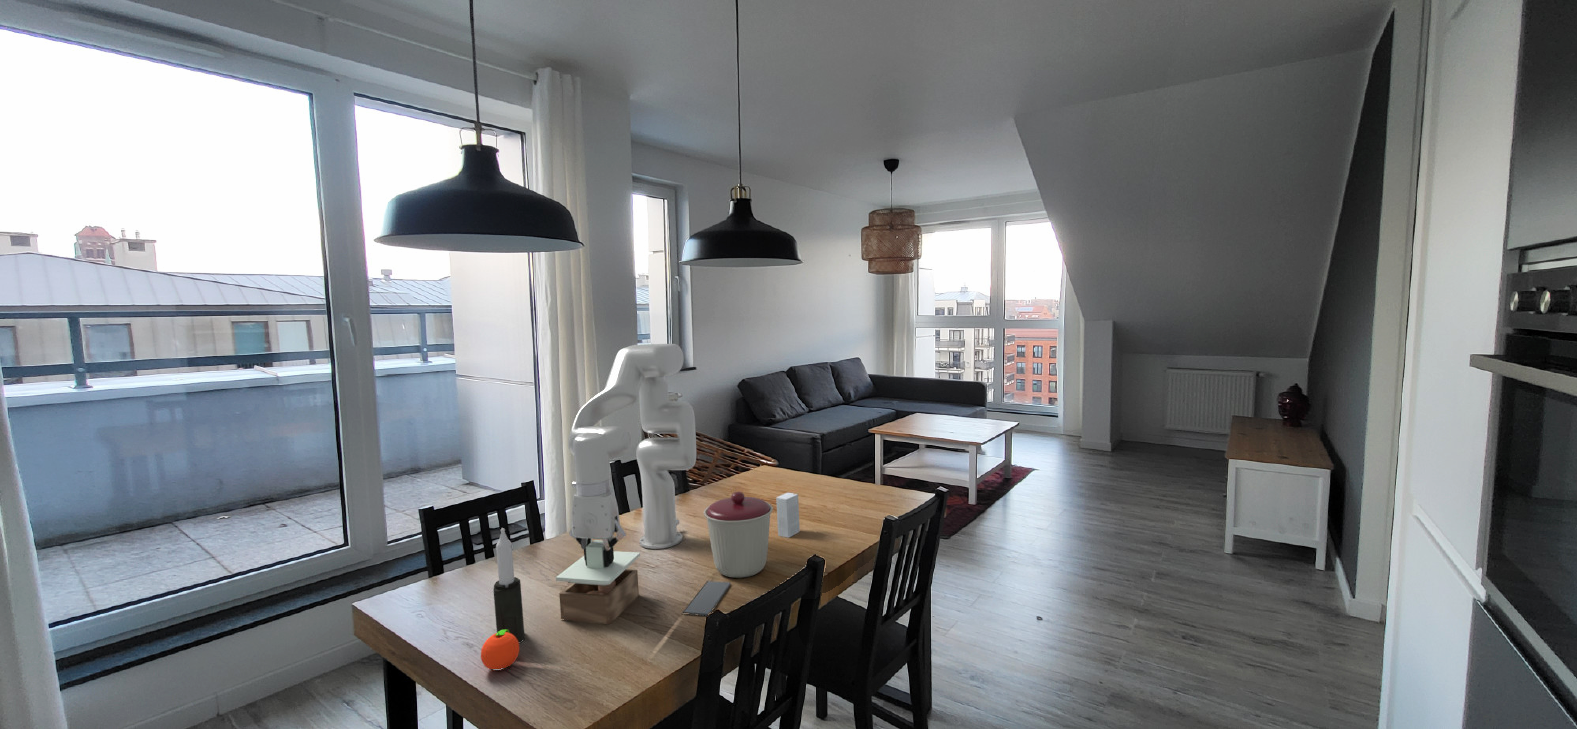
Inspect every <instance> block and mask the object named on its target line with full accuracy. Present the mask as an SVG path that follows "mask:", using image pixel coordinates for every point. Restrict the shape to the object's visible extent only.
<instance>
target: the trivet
mask: <svg viewBox="0 0 1577 729" xmlns="http://www.w3.org/2000/svg"><path fill="white" fill-rule="evenodd" d="M730 586H731V582H728V581H714V580H713V581H712V580H707V581H706V582H705V583H704V584H703V586H702V587H701V589H700V590H699V591H698V592H697V594H696V595H695V596H694V597H693V598H692V600H691V601H690V602H689V604H688V605H687V606H686V607H685V609H684V610H683V611H682V613H689V614H698V615H702V616H701V617H708V616H707V615H708V614H709V613H710V612H711V613H712V612H713V611H712V609H713V608H714V607H715V608H716V606H717V605H718V603H719V602H720V601H721V599H722V598H723V596H724V595H725V594H726V593H727V591H728V589H729V588H730ZM716 604H717V605H716ZM715 608H714V609H715ZM714 609H713V610H714ZM698 615H697V616H698ZM704 615H705V616H704Z"/></svg>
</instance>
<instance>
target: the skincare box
mask: <svg viewBox="0 0 1577 729" xmlns="http://www.w3.org/2000/svg"><path fill="white" fill-rule="evenodd" d="M775 500H776V517H777V518H776V519H777V521H776V522H777V535H778V536H779V537H784V538H788V539H789V538H791V537H793V536H794V535H797V534H798V533H800V532H801V529H800V528H801V527H800V513H799V512H800V508H799V507H800V504H799V493H793V492H789V491H788V492H785V493H783V494H781V495H779V496H776V499H775Z"/></svg>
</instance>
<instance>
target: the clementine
mask: <svg viewBox="0 0 1577 729" xmlns="http://www.w3.org/2000/svg"><path fill="white" fill-rule="evenodd" d="M506 631H508V632H506ZM519 654H520V643H519V642H518V640H517V638H516V637H515V636H514V635H513V634H511V633H509V630H508V629H505V630H500V631H499V632H498V633H497V632H496V633H493V634H491V635H490V637H488V638H487V639H486V640H485V641H484V643H483V644H482V647H481V650H480V659H481V662H482V664H483V665H484V667H485V668H487V669H488V668H489V670H490V669H501V668H506V667H508V666H509V667H510V666H512V665H511V664H514V663H515V662H516V660H517V659H518V656H519ZM509 667H508V668H509ZM506 669H507V668H506Z"/></svg>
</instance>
